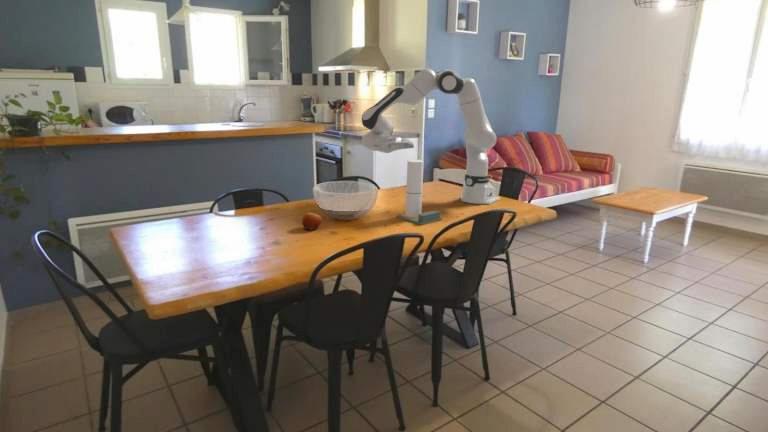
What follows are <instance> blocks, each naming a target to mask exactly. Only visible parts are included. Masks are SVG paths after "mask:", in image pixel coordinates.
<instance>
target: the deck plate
mask: <svg viewBox="0 0 768 432" xmlns="http://www.w3.org/2000/svg"><path fill="white" fill-rule="evenodd" d="M395 218H397V219H400V220H404V221H408V222H410V223H414V224H416V225H420V226H424V225H427V224H431V223H436V222H439V221H441V220H442V217H441V211H438V210H432V211H428V212H427V211H426V212H422V211H421V214H419V215H418V217H409V216H406V211H405V212H402V213H399V214H396V215H395Z"/></svg>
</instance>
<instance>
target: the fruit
mask: <svg viewBox="0 0 768 432" xmlns="http://www.w3.org/2000/svg"><path fill="white" fill-rule="evenodd" d="M301 219H302V220H301V222H302V226H303V229H304V230H310V231H311V232H312V231H313V230H317V229H319V226H320V225H321V224H322V221H323V219H322V217H321V215H319V214H316V213H315V212H306V213H304V214H303V215H302V218H301Z"/></svg>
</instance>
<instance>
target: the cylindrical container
mask: <svg viewBox="0 0 768 432" xmlns="http://www.w3.org/2000/svg"><path fill="white" fill-rule="evenodd" d="M424 165H425V164H424V160H422V159H408V160H407V165H406V166H407V167H406V193H405V212H406V216H409V217H418V215H419V214H421V212H422V205H423V204H422V203H423V202H422V201H423V184H424V181H423V179H424Z"/></svg>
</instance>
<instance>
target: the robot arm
mask: <svg viewBox="0 0 768 432" xmlns="http://www.w3.org/2000/svg"><path fill="white" fill-rule="evenodd" d="M434 90H439V91H440V92H442V93H443V94H447V95H456V97H457V100H458V104H459V107H460V111H461V115H462V120H463V121H464V123H465V125H466V126H467V128H466V129H465V131H464V133H463V139H464V143H465V152H466V168H465V175H464V183H463V184H462V190H461V195H460V196H459V198H460V200H461V202H464V203H467V204H468V203H469V204H475V205H490V204H493V203H495V202H498V201H499V200H501V198H500V197H499V196H497V195H496V194H497V189H496V188H495V187H494V186H493V185H492V184H491V183H490V180H492V178H493V176H492V175H491V174H488V173H489V157H488V153H487V150H490V149H492V148H493V147H495V145H496V144H497V139H498V137H497V134H496V133H495V132H494V130H493V129H492V125H491V123H490V121H489V119H488V117H487V115H486V111H485V108H484V105H483V101H482V100H483V99H482V96H481V95H482V94H481V93H480V90H479V87H478V85H477V83H476V81H475V79H473V78H471V77H465V78H461V76H459V75H458V74H457V73H456V72H455V71H454V70H451V69H444V70H441V71H437V72H435V71H434V70H433V69H430V68H427V67H425V68H423V69H422V70H420V71H419V72H417V74H415V75H414V76H413V77H412V79H410V80H409V82H408V83H406V84H405V85H403V86H401V87H399V86H398V87H395V88H394V89H392V90H391V91H390V92H389V93H387V94H386V95H385V96H384V97H382V98H381V99H380V100H378V101H377V103H375V104H374V105H373V106H371V107H369V108H367V109H366V110H364V111H363V113H362V116H361V125H362V126H363V127H364V128H366V129H368V130H370V131H369V132H366V133H364V134H363V135H362V137H361V144H362V145H363V147H364V148H366V149H367V150H370V151H373V152H380V153H386V154H390V153H393V152H395V151H399V150H406V149H407V150H408V149H414V148H415V144H413V143H414V142H413V140H410V139H406V138H402V137H401V136H395V135H394V136H393V132H394V124H393V122H392V121H391V120H390V119H388V117H386V116H384V115H383V113H384V112H386V111H387V110H388V109H389V108H390V107H392V106H394V105H395V104H404V105H409V106H417V105H418V104H420V103H421V102H422V101H423V100H425V98H426V97H427V96H428V95H429V94H430V93H431V92H432V91H434Z"/></svg>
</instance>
